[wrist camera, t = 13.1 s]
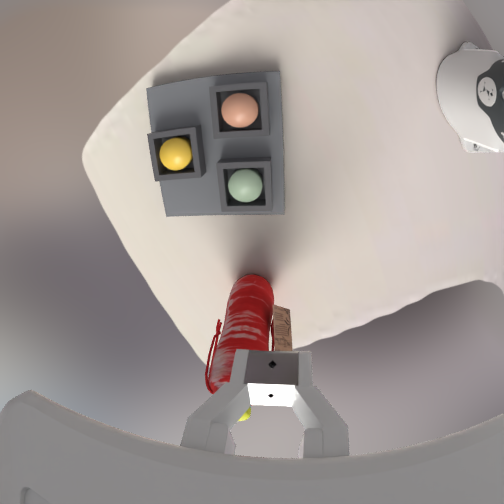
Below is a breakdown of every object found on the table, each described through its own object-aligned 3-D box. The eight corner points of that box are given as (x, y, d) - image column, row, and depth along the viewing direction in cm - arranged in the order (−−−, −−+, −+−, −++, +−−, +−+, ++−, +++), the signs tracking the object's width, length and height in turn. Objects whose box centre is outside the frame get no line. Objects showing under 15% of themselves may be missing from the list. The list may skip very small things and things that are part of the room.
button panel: (279, 72, 30) (279, 69, 26) (284, 208, 40) (284, 222, 37) (152, 88, 32) (137, 88, 28) (171, 211, 43) (160, 223, 39)
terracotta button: (258, 92, 30) (256, 92, 28) (260, 124, 32) (258, 126, 30) (223, 94, 30) (220, 94, 29) (226, 126, 33) (222, 128, 31)
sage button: (262, 166, 35) (261, 169, 33) (263, 196, 37) (262, 202, 36) (229, 167, 36) (226, 171, 34) (232, 197, 38) (229, 202, 36)
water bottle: (299, 273, 46) (301, 410, 25) (291, 306, 51) (287, 433, 30) (229, 264, 47) (189, 396, 26) (227, 298, 51) (196, 420, 30)
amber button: (193, 134, 33) (188, 136, 32) (196, 165, 36) (192, 168, 34) (163, 138, 34) (157, 141, 32) (167, 167, 36) (162, 171, 35)
